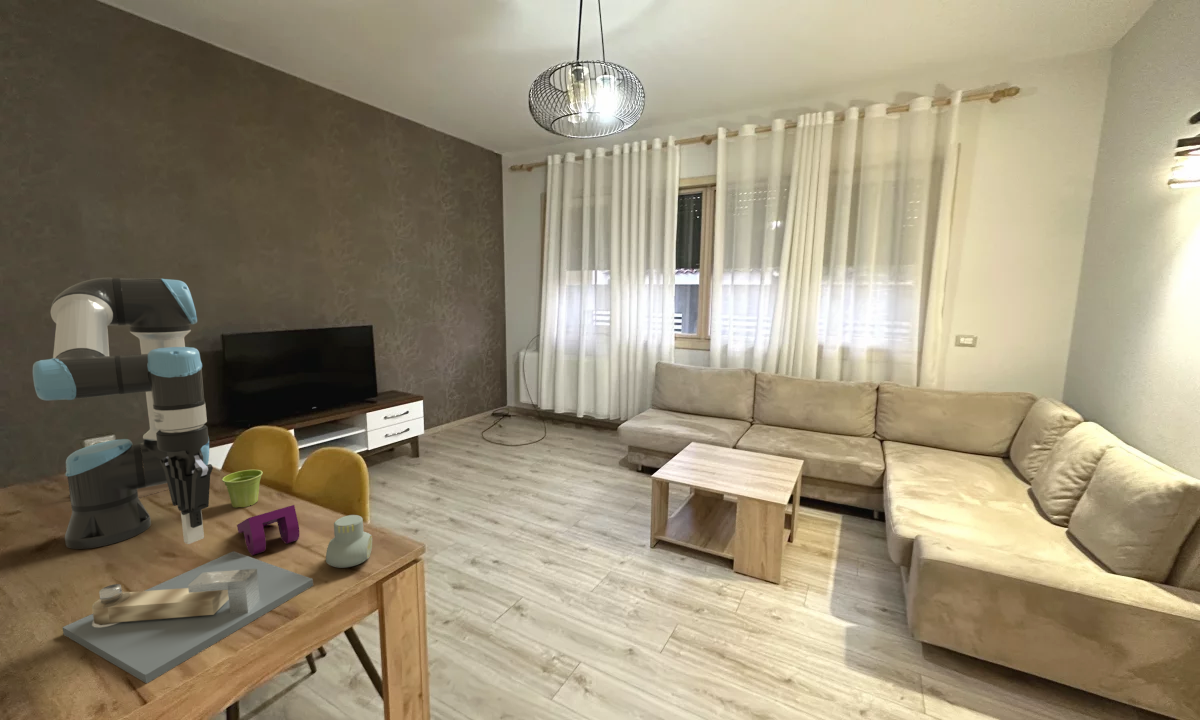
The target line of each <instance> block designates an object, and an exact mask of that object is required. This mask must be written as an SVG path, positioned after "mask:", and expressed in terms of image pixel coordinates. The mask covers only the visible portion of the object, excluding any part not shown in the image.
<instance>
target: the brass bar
mask: <svg viewBox="0 0 1200 720" xmlns="http://www.w3.org/2000/svg"><path fill="white" fill-rule="evenodd" d="M228 600H229V598H228V590H217V591H204V592H191V593H189V590H188V588H181V589H167V590H153V591H145V590H140V591H122V597H121V598H120V599H118V600H116V601H113V602H110V603H105V604H103V603H101V602H100V598H99V599H97V600H96V601H94V603H92V606H91V609H92V610H91V611H92V614H93V617H94V623H95V624H107V623H114V622H127V621H140V620H152V619H165V618H178V617H190V616H203V615H214V614H215V613H216V612H217V611H218V610H219V609H220V608H221V607H222V606H223V605H224V604H225V603H226V602H227V601H228Z"/></svg>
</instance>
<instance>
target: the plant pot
mask: <svg viewBox="0 0 1200 720" xmlns="http://www.w3.org/2000/svg"><path fill="white" fill-rule="evenodd" d="M262 475H263V471H262V470H260V469H246V470H239V471H236V472H232V473H229V474H227V475H225V476H224V477H222V479H221V480H222V482H223V483H224V485H225V486H226V489H227V492H228V496H229V499H230V503H231V507H233V508H247V507H251V506H253V505H255V504H256V503H257V502H258V501H259V492H260V482H261V479H262ZM250 505H251V506H250Z"/></svg>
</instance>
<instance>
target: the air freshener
mask: <svg viewBox="0 0 1200 720" xmlns="http://www.w3.org/2000/svg"><path fill="white" fill-rule="evenodd" d="M363 519H364V518H363V517H362V516H360V515H358V514H349V515H345V516H342V517H340V518H338V519H336V520H335V522H334V523H333V531H334V533H333V535H334V537H333V538H331V539H330V541H329V543H328V545H327V547H326V552H325V562H326V564H328V565H329V566H331V567H333V568H340V569H341V568H342V569H345V568H351V567H355V566H358V565H360V564H362V563H364V562H365V561H367V560H368V559H369V558H370V557H371V553H372V548H373V535H372V534H370V533H369V532H368V531H367V532H366V531H364V520H363Z"/></svg>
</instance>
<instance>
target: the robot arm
mask: <svg viewBox="0 0 1200 720" xmlns="http://www.w3.org/2000/svg"><path fill="white" fill-rule="evenodd" d="M189 288H190V287H188V285H187V283H186V282H184V281H182V280H179V279H169V278H137V277H136V278H134V277H133V278H130V277H129V278H127V277H126V278H125V277H123V278H122V277H99V278H98V277H97V278H93V279H87V280H84V281H80V282H77V283H75V284H73V285H71V286H69V287H67V288H65V289H64V290H62V292H60V293H59V294H58V295H57V296H56V297H55V298H54V300H52V303H51V307H50V316H51V319H52V321H53V322H54V323H55V335H54V344H53V345H54V346H53V354H52V357H51V358H48V359H40V360H38V361H35V362H34V363H33V365H32V380H33V386H34V390H35V394H36V396H37V398H39V399H40V400H41V401H42V400H43V401H62V400H65V401H66V400H67V401H72V400H75V399H85V398H93V397H94V398H95V397H97V398H98V397H104V396H115V395H127V394H137V393H145V398H146V399H145V400H146V405H147V406H146V407H147V415H148V423H149V429H148V431H146V433H144V434H143V436H142V440H143V441H142V442H141V443H135V444H133V441H131V439H128V438H121V439H113V440H107V441H104V442H103V441H102V442H99V443H95V444H94V443H93V444H91V445H87V446H85V447H83V448H80V449H77V450H75V451H73V452H72V453H70V454H69V455H68V456H67V457H66V460H65V470H66V471H65V473H64V474H65V477H67V482H68V490H69V498H70V505H71V516H70V519H69V521H68V525H67V528H66V532H65V534H64V541H65V546H66V548H69V549H74V550H83V549H84V550H85V549H93V548H100V547H104V546H109V545H112V544H116V543H120V542H123V541H126V540H129V539H131V538H133V537H136V536H138V535H139V534H140V535H141V534H142V533H143V532H145V531H146V530H148V529H149V528H150V527H151V526H152V522H151V515H150V513H149V512H148V511H147V509H146V508H145V506H144V504H143V503H142V501H141V500H140V498H138V492H137V489H140V488H145V487H150V486H155V485H160V484H165V483H167V484H168V488H169V489H168V492H169V495H170V500H171V502H172V506H173V507H175V506H177V510H179V512H180V518H181V524H182V525H181V527H182V535H183V543H185V544H187V545H191V544H193V543H196V542H198V541H201V540H202V539H204V538H205V533H204V531H205V530H204V523H203V514H202V512H203V511H202V510H203V509H206V508H209V503H210V502H209V501H210V485H211V474H212V472H213V464H210V463H209V460H210V438H209V429H208V426H207V425H206V423H207V422H208V419H207V408H206V401H205V395H204V383H203V370H202V368H203V363H202V360H201V354H200V351H199V350H198V349H197V348H196V347H189V346H186V343H185V342H186V341H185V337H186V336H187V335H188V334H190V333H191V331H192V330H191V329H192V328H191V325H195V324H197V323H198V317H197V311H196V307H195V304H194V300H193V297H192V293H191V291H190V289H189ZM108 326H129V333H131V334H132V335H133V336H135V337H136V338H138V340H139V345H140V346H139V348H140V353H141V354H127V355H110V347H109V344H110V343H109V331H108ZM143 468H144V469H143Z"/></svg>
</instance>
